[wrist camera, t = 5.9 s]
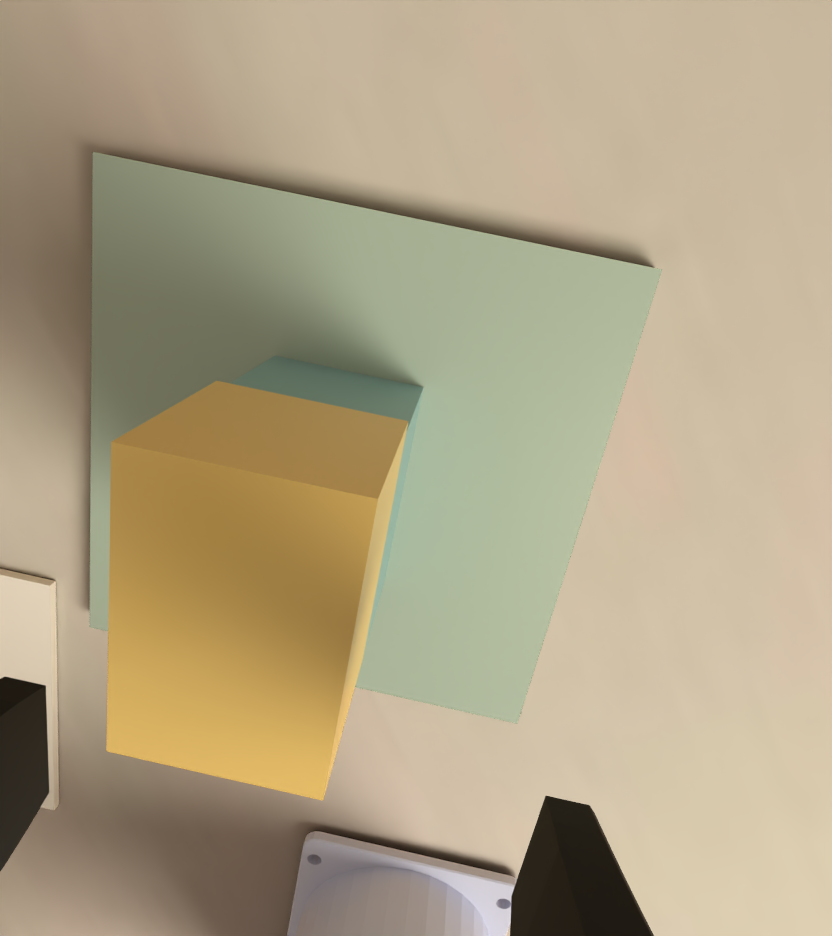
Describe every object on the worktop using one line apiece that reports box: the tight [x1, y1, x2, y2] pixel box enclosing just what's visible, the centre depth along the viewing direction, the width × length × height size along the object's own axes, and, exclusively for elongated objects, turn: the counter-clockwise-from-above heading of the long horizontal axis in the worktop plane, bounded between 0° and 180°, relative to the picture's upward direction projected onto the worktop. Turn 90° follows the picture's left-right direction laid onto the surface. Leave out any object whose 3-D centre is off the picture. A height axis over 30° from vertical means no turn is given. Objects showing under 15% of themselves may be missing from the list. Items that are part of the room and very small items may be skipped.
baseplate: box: [90, 152, 662, 724], centre depth 18 cm, size 14×14×1 cm
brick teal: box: [230, 356, 424, 656], centre depth 16 cm, size 6×4×4 cm, turn 169°
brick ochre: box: [107, 381, 408, 800], centre depth 12 cm, size 6×4×4 cm, turn 169°
